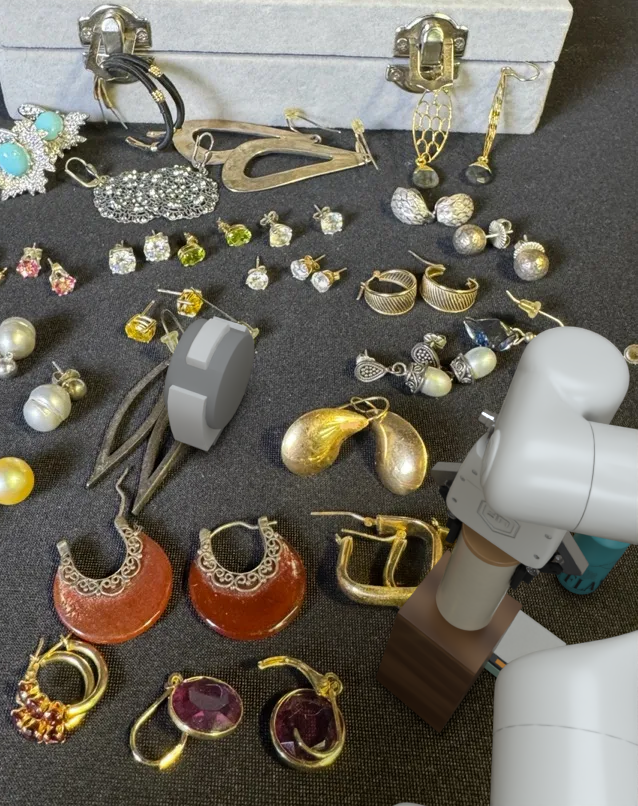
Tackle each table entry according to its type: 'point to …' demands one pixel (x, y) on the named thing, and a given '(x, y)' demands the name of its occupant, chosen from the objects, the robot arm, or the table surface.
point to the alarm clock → (207, 379)
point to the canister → (474, 581)
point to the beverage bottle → (593, 563)
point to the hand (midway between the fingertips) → (487, 554)
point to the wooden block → (438, 652)
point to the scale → (521, 642)
